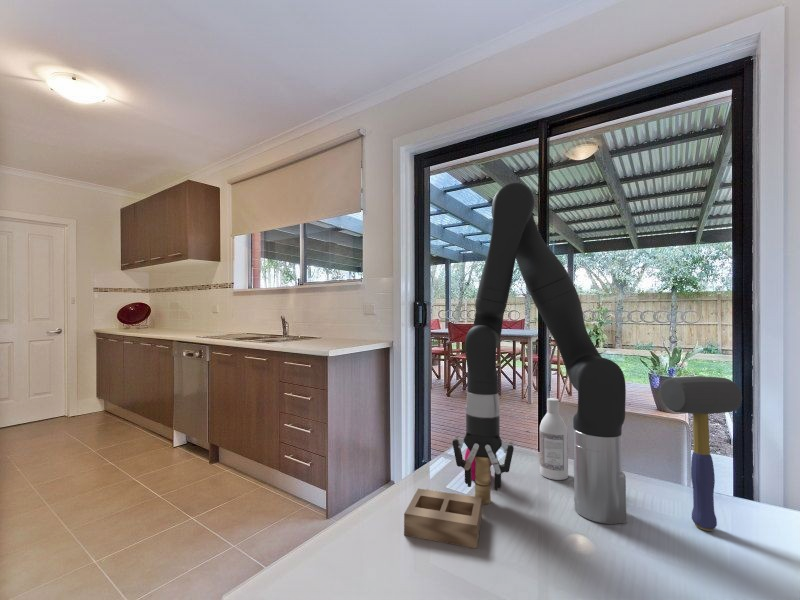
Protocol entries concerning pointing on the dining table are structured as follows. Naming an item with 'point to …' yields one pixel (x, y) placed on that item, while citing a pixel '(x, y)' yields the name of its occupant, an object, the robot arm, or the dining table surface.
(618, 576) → the dining table surface
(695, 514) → the rubber mallet
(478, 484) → the peg
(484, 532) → the dining table surface
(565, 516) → the dining table surface
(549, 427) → the bath foam
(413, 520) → the board
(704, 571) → the dining table surface
